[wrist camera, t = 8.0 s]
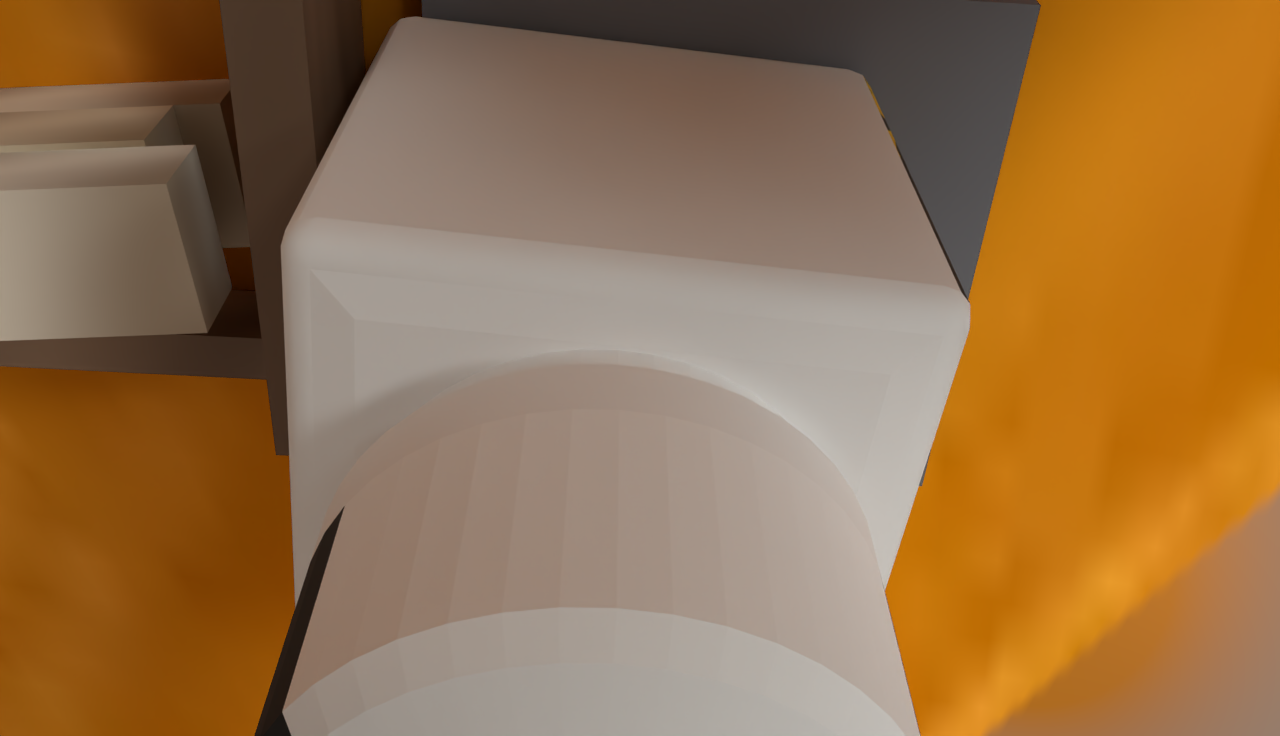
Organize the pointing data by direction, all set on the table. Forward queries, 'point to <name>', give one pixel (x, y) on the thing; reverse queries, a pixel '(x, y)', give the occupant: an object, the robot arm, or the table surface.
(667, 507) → the medicine bottle
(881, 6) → the rubber mat
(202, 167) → the offcut stack
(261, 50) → the walnut rack
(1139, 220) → the table surface
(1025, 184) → the table surface
